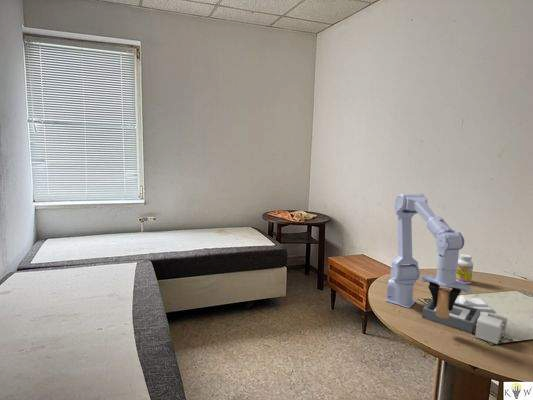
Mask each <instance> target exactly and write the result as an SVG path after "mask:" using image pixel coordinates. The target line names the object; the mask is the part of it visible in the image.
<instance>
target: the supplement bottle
mask: <svg viewBox="0 0 533 400" xmlns="http://www.w3.org/2000/svg"><path fill="white" fill-rule="evenodd" d="M472 257H473V256H472V255H470V254H466V253H461V254H460V255H459V258H458V265H457V274H456V281H457V282H460V283H463V284H465V285H468V284H471V283H472V279H473V277H472V276H473V269H474V262H473V261H472Z"/></svg>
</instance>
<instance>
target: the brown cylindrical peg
mask: <svg viewBox="0 0 533 400" xmlns="http://www.w3.org/2000/svg"><path fill="white" fill-rule="evenodd" d="M451 290H452V289H451V288H448V287H440V288H438V295H437V305H436V316H438V317H440V318H444V319H446V318H449V312H450V310H449V304H450V291H451Z"/></svg>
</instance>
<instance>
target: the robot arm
mask: <svg viewBox="0 0 533 400" xmlns="http://www.w3.org/2000/svg"><path fill="white" fill-rule="evenodd" d="M394 211H395V215H397V218H396V219H397V221H396V222H397V255H398V256H396V258H394V259H393V260H392V261H391V267H390V278H389V279H388V282H387V289H386V299H385V301H386V302H387V303H390V304H395V305H397V306H401V307H404V308H407V309H410V308H411V307H412V306H413V305H415V304H416V303H417V302H416V300H415V299H413V298H414V297H413V296H414V287H415V283H416V282H417V280H419V279H420V276H421V283H429V284H428V289H429V292H430V294H431V297H432V298H431V299H433V303H434V306H436V305H437V295H438V288H441V287H442V288H447V289H450V290H451V291H450V304H449V310H450V311H451V310H452V309H453V305H454V303H455V301H456V299H457V297H459V295H460V294H461V293H462V292H465V293H466V294H470V293H471V292H472V285H468V284H463V283H460V282H457V281H456V274H457V265H458V260H459V257H460V255H459V254H460V250H462V249H463V248H464V246H465V237H464V235H463V234H462V233H461V232H460V231H457V230H455V229H452V228H451V227H450V225H449V224H448V223H447V222H446V221H445V219H444V218H443V217H442V216H436V215H435V213H434V212H433V210H432V208H431V207H430V206H429V205H428V198H427V197H426V196H425V194H424V193H399V194H397V196H396V198H395V199H394ZM416 214H418V215H420V216H421V217H422V219H423V220H424V221H425V222H426V228H427V229H428V230H429V232H430V233H431V234H432V236H433V237H434V238H435V245H436V252H437V254H438V256H437V257H438V258H437V267H436V268H437V269H436V276H434V275H426V274H423V275H421V271H420V266H419V262H418V261H417V260H416V259H415V258H413V236H412V235H413V232H412V231H413V229H412V228H413V227H412V225H413V224H412V218H413V217H414V216H415V215H416Z"/></svg>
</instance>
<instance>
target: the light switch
mask: <svg viewBox="0 0 533 400" xmlns="http://www.w3.org/2000/svg"><path fill="white" fill-rule="evenodd" d="M455 303H459V304H462V305H466V306H470V307H473V308H477V309H481V312H483V311H485V313H495V310H494V309H493V308H492V307H491V305H489V303H488V302H486V301H485V300H484V298H481V297H468V296H466V295H464V294H461V295H460V296H458V297H457V299H456V301H455Z"/></svg>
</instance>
